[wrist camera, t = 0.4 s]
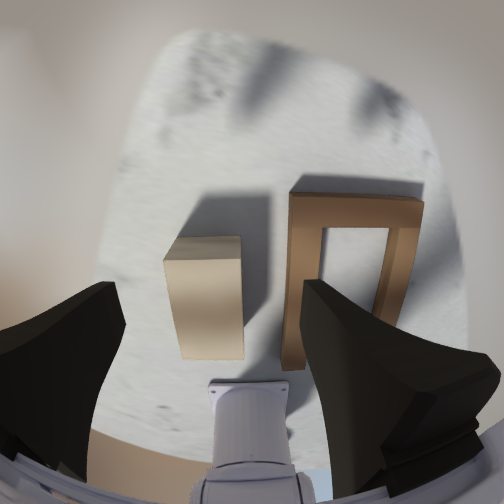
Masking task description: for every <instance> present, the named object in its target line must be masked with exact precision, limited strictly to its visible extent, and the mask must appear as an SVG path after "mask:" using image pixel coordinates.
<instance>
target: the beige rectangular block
mask: <svg viewBox="0 0 504 504" xmlns="http://www.w3.org/2000/svg"><path fill="white" fill-rule="evenodd" d="M163 264H164V271H165V277H166V282H167V288H168V294H169V299H170V304H171V309H172V314H173V319H174V324H175V329H176V333H177V338H178V342H179V346H180V351H181V355H182V359H183V360H244V322H243V293H242V262H241V236H205V237H177V238H176V239H175V241H174V243H173V244H172V246H171V248H170V249H169V251H168V253H167V254H166V256H165V258H164V259H163Z"/></svg>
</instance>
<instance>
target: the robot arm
mask: <svg viewBox="0 0 504 504" xmlns="http://www.w3.org/2000/svg"><path fill="white" fill-rule="evenodd" d="M125 326H126V322H125V319H124V315H123V312H122V309H121V305H120V301H119V298H118V294H117V290H116V286H115V282H105V281H102V282H99V283H96V284H94V285H92V286H90V287H88V288H86V289H85V290H82V291H81V292H79V293H77V294H75V295H74V296H72V297H70V298H68V299H67V300H65V301H63V302H62V303H60V304H58V305H56V306H54V307H52V308H51V309H49V310H47V311H45V312H43V313H41V314H39V315H38V316H35V317H33V318H32V319H29V320H27V321H25V322H22V323H20V324H18V325H15V326H12V327H9V328H6V329H4V330H1V331H0V504H69V503H67V502H66V501H64V500H62V499H60V498H58V497H56V496H54V495H53V494H52V492H51V491H53V492H55V493H57V494H59V495H61V496H63V497H66V498H68V499H70V500H72V501H75V502H77V503H80V504H163V503H157V502H151V501H147V500H142V499H137V498H133V497H129V496H125V495H121V494H117V493H114V492H110V491H107V490H104V489H100V488H97V487H95V486H91V485H89V484H86V483H87V476H86V475H87V474H86V472H87V451H88V442H89V433H90V429H91V423H92V418H93V414H94V410H95V406H96V402H97V398H98V395H99V392H100V389H101V386H102V384H103V382H104V380H105V377H106V375H107V373H108V370H109V368H110V366H111V364H112V362H113V359H114V357H115V355H116V353H117V351H118V348H119V346H120V343H121V340H122V337H123V334H124V330H125ZM299 327H300V332H301V338H302V343H303V348H304V351H305V354H306V357H307V360H308V363H309V366H310V369H311V372H312V375H313V378H314V381H315V384H316V387H317V390H318V393H319V397H320V401H321V405H322V411H323V416H324V421H325V427H326V434H327V440H328V447H329V455H330V464H331V474H332V486H333V500H330V501H325V502H319V503H316V500H315V494H314V489H313V485H312V482H311V479H310V477H309V476H307V475H305V474H304V473H303V472H299V473H295V466H294V464H291V457H290V450H289V443H288V436H287V429H286V422H285V412H286V405H287V398H288V391H289V383H288V382H287V381H280V382H262V383H211V384H209V385H208V391H209V396H210V400H211V405H212V410H213V414H214V419H215V423H214V442H213V462H212V469H207V477H206V478H205V477H202V478H200V479H198V481H197V482H196V483H195V484H194V485H193V487H192V489H191V493H190V501H189V504H500V503H501V502H502V501H503V500H504V419H502V420H501V421H499V422H498V423H496V424H495V425H494V426H492V427H490V428H489V429H488V430H486V431H485V432H484V433H482V434H481V435H480V436H479V437H478V435H477V433H476V431H475V430H476V429H477V428H478V427H479V422H478V421H477V419H476V416H477V414H478V413H479V412H480V411H481V409H482V408H483V407H484V406H485V404H486V403H487V402H488V401H489V399H490V398H491V396H492V395H493V393H494V392H495V390H496V389H497V387H498V385H499V382H500V377H501V372H500V371H499V369H498V368H497V367H496V365H495V364H494V363H493V362H492V360H491V359H490V358H489V357H488V355H486V354H484V353H478V352H471V351H466V350H460V349H456V348H452V347H448V346H444V345H440V344H437V343H434V342H431V341H428V340H425V339H422V338H420V337H417V336H414V335H412V334H409V333H407V332H405V331H402V330H400V329H398V328H396V327H394V326H392V325H390V324H388V323H386V322H384V321H382V320H380V319H379V318H377V317H375V316H374V315H372V314H370V313H369V312H367V311H365V310H364V309H362V308H361V307H359V306H358V305H356V304H355V303H353V302H352V301H350V300H349V299H348V298H346V297H345V296H343V295H342V294H341V293H339V292H338V291H337V290H335V289H334V288H332V287H331V286H330V285H328V284H327V283H325V282H324V281H322V280H321V279H307V280H304V281H303V292H302V302H301V312H300V321H299Z"/></svg>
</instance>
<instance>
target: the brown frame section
mask: <svg viewBox="0 0 504 504" xmlns="http://www.w3.org/2000/svg"><path fill="white" fill-rule="evenodd" d="M423 209H424V202H423V201H421V200H418V199H416V198H414V197H402V196H387V195H370V194H349V193H315V192H289V216H288V244H287V267H286V286H285V304H284V319H283V334H282V347H281V365H282V371H292V370H303V369H305V365H306V359H307V357H306V354H305V351H304V348H303V343H302V338H301V332H300V327H299V321H300V312H301V302H302V292H303V281H304V280H307V279H318V271H319V261H320V251H321V239H322V228H389V233H388V239H387V245H386V251H385V256H384V261H383V267H382V271H381V276H380V281H379V285H378V290H377V294H376V298H375V303H374V307H373V310H372V315H374V316H375V317H377V318H379V319H380V320H382V321H384V322H386V323H388V324H390V325H392V326H394V327H395V326H396V323H397V320H398V317H399V314H400V311H401V307H402V304H403V301H404V297H405V294H406V290H407V286H408V283H409V279H410V275H411V271H412V267H413V262H414V258H415V253H416V249H417V244H418V239H419V233H420V228H421V222H422V216H423Z"/></svg>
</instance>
